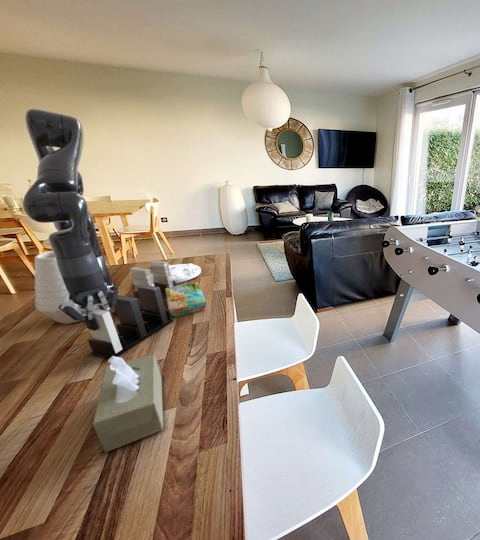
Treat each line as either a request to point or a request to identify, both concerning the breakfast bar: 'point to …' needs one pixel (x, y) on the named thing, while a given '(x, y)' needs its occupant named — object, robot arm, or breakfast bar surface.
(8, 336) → the breakfast bar surface
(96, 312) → the white book
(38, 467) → the breakfast bar surface
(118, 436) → the tissue box
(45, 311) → the vase
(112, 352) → the grey rack
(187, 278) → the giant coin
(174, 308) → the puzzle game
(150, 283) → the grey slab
